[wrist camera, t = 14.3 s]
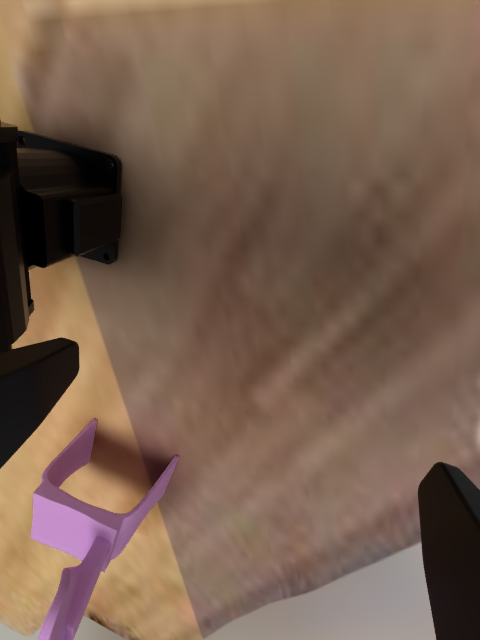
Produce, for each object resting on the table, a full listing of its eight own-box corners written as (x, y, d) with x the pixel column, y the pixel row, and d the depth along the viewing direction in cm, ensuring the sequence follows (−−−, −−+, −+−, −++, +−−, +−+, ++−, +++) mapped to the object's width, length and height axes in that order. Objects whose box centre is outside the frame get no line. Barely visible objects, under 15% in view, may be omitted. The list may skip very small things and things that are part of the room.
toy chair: (90, 407, 29) (-102, 616, 16) (182, 448, 29) (64, 696, 16) (80, 464, 33) (-79, 669, 20) (161, 500, 33) (53, 733, 20)
